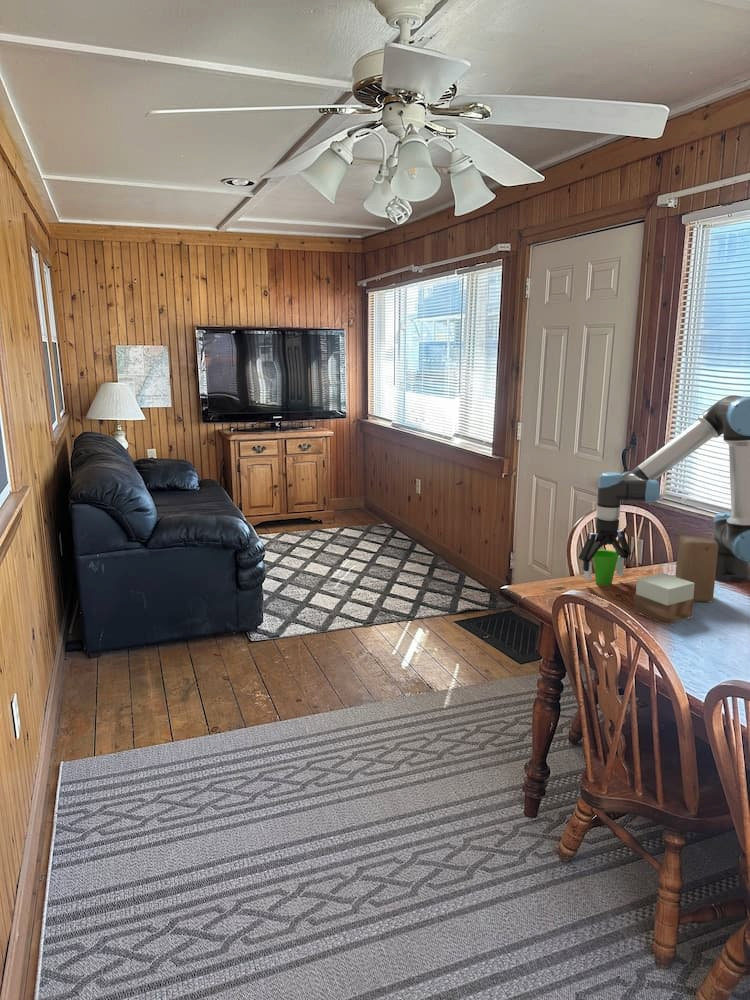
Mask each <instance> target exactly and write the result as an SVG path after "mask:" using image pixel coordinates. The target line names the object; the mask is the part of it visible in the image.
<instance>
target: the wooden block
mask: <svg viewBox="0 0 750 1000" xmlns="http://www.w3.org/2000/svg"><path fill="white" fill-rule="evenodd" d="M677 541H678V543H677V550H676V551H677V552H676V553H677V554H676V563H675V576H674V577H677V578H680V579H684V580H687V581H690V582H693V583H695V585H694V596H693V598H694V602H701V601H702V603H703V602H706V603H711V602H713V600H714V592H715V586H716V585H715V583H716V579H715V574H716V564H717V554H718V543H717V542H716V541H715V540H714V539H713V536H711V535H706V534H705V535H704V534H701V535H700V534H680V535H679V536H678V540H677Z"/></svg>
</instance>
